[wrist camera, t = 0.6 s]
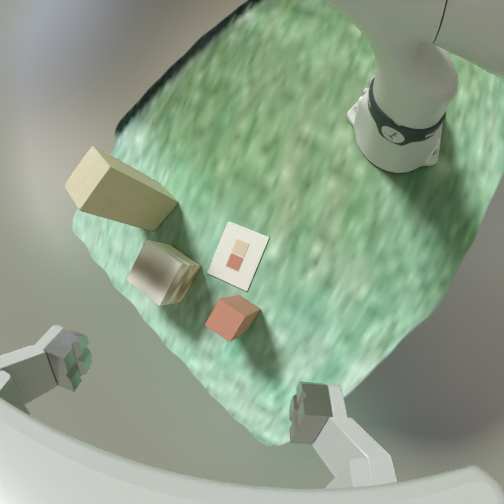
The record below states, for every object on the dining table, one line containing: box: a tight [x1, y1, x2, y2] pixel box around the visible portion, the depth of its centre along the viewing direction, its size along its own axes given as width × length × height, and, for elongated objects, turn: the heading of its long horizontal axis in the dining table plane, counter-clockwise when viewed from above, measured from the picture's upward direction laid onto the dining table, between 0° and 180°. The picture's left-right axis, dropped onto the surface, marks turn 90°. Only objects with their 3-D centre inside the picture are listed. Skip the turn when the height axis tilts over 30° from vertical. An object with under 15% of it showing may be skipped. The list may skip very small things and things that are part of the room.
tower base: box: [127, 240, 201, 306], centre depth 52 cm, size 8×8×8 cm
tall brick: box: [205, 295, 260, 342], centre depth 47 cm, size 4×4×10 cm
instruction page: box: [207, 221, 269, 291], centre depth 53 cm, size 10×8×1 cm
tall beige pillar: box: [65, 146, 178, 231], centre depth 48 cm, size 8×7×21 cm
